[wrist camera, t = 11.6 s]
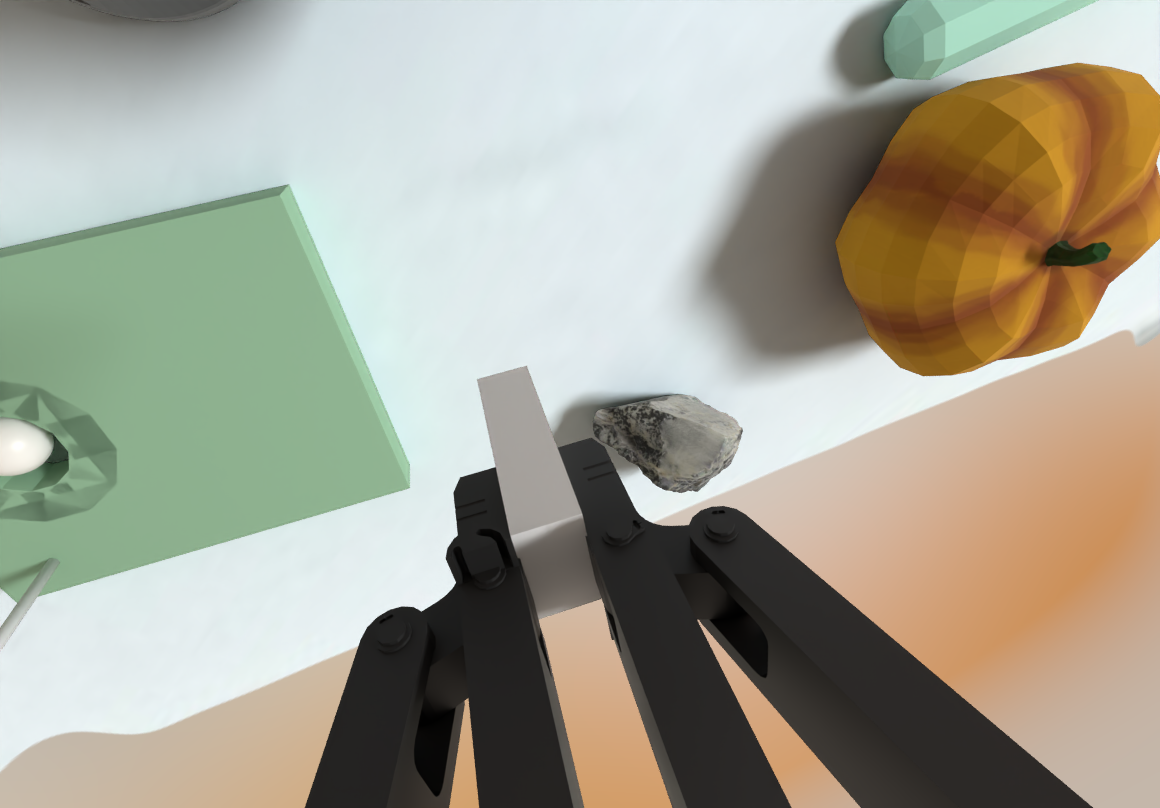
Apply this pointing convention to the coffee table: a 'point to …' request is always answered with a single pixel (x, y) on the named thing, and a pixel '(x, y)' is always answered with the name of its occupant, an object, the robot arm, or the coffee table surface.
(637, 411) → the stone
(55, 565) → the green
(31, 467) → the ball
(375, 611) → the coffee table surface
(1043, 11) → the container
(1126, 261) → the decorative pumpkin
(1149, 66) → the coffee table surface
